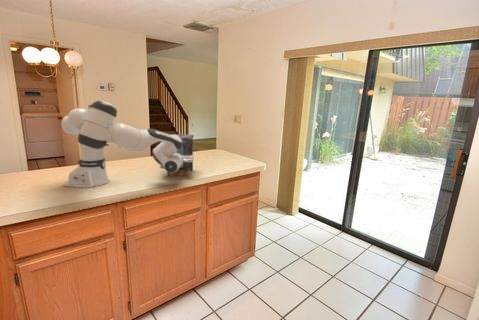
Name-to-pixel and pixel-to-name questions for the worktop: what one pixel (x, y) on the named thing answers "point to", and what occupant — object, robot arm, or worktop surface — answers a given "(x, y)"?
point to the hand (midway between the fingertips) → (179, 155)
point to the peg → (181, 154)
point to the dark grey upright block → (187, 150)
